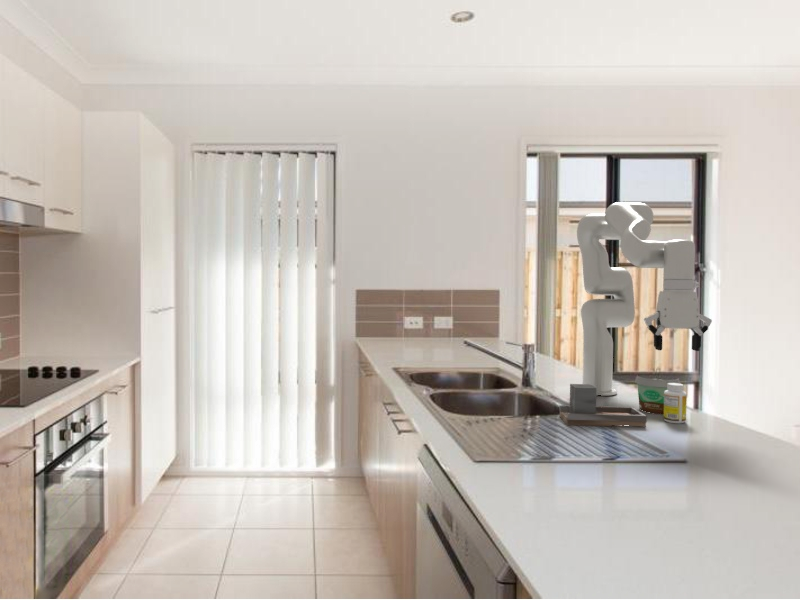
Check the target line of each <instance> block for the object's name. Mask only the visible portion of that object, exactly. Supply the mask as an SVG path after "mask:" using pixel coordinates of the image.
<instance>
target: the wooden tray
mask: <svg viewBox="0 0 800 600" xmlns="http://www.w3.org/2000/svg"><path fill="white" fill-rule="evenodd" d="M558 409H559V417H560V418H561V419H562V420H563V422H564V423H565V424H566V425H567V426H588V427H589V426H590V427H591V426H592V427H596V426H597V427H612V426H611V425H615V426H614V427H618V426H617V425H622V426H621V427H625V426H624V425H629V426H645V427H644V428H646V427H647V421H648V420H647V419H648V418H647V417H648V416H647V414H644V413H643V412H642V411H641V410H640V411H639V410H638V409H637V408H635V407H634V406H612V405H611V406H609V405H607V406H605V405H602V406H601V405H597V395H596V387H594V386H593V385H591V384H583V383H570V384H569V404H568V405H565V404H564V405H563V404H561V405H559V407H558Z"/></svg>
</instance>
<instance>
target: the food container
mask: <svg viewBox="0 0 800 600" xmlns="http://www.w3.org/2000/svg"><path fill="white" fill-rule="evenodd" d="M668 383H679V384H681V381H680V378H676V379H662V378H647V377H642V376H638V375H636V377H635V381H634V384H637V394H638V405H639V410H640V409H641V410H643V411H646V412H645V413H647V412H650V413H649V414H652V413H654V415H664V391H666V390H668V389H667V384H668ZM641 410H640V411H641ZM643 411H642V412H643Z"/></svg>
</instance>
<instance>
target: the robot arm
mask: <svg viewBox="0 0 800 600" xmlns="http://www.w3.org/2000/svg"><path fill="white" fill-rule="evenodd" d="M653 221H654V212H653V210H652V208H651V207H650V206H649V205H648V204H646V203H642V202H626V201H625V202H623V201H621V202H619V201H618V202H614V203H611V204H610V205H609V206H608V207H607V208H606V209H605V212H604V213H590V214H587V215H584V216H582V217H581V218H580V219H579V222H578V223H577V228H576V237H577V238H576V239H577V243H578V246H579V249H580V254H581V259H582V260H581V262H582V275H583V276H582V277H583V287H584V290H585V292H586V293H587V294H589V295H591V296H592V295H593V296H613V299H612V298H592V299H589V300H587V301H585V302H584V303H583V304H582V306H581V309H580V315H581V322H582V330H583V333H582V334H583V337H582V339H583V341H582V342H583V343H582V345H583V348H582V349H583V350H582V351H583V352H582V356H583V357H582V384H591V385H593V386H594V387H596V396H598V395H601V397H602V396H603V397H604V396H605V397H608V396H614V395H615V396H616V395H617V394H618V391H617V390H618V389H615V388H613V371H614V369H613V363H614V358H613V357H614V341H613V337H612V334H611V333H610V332H609V330H608V328H627V327H630V326H631V325H632V324H633V323H634V320H635V318H636V317H635V314H636V310H635V308H636V307H635V305H636V304H635V298H634V297H635V295H634V294H635V293H634V283H633V278H632V275H631V273H630V272H629V270H627V269H626V268H623V267H614V266H613V267H611V266H610V263H609V261H610V260H609V254H608V252H607V251H608V250H607V249H606V248H605V246H604V245H603V244H602V242H601V241H600V240H606V241H607V240H608V241H611V240H613V241H617V240H618V241H620V249H621V254H622V255H623V256H624V258H626V260H628V262H630V264H632V265H633V266H635V267H638V268H641V269H644V268H645V269H663V271H662V272H663V273H662V276H663V277H662V278H663V281H662V282H663V285H662V287H663V288H662V291H661V290H660V291H659V293H658V297H657V302H656V311H655V313H653V314H651V315H649V316H646V317H644V319H643V321H644V323H645V325H646V326H647V329H648V330H649V331H650V332H651V333H652V335H653V346H654V348H655V350H657V351H662V350H663V335H662V333H663V332H664V331H665V330H666V329H671V330H672V329H673V330H674V329H675V330H677V329H679V330H682V329H683V330H685V329H688V330H690V331H691V332H692V333H693V334H692V335H691V350H693V351H696V352H699V351H700V348H701V346H702V336H703V335H704V334H705V333H706V332H707V331H708V330H709V327H710V326H711V324H712V322H713V320H712V319H711V318H709V317H707V316H705V315H704V314H701V313H700V305H699V304H700V303H699V299H698V293H697V291H695V290H696V289H695V288H699V287H700V282H699V281H698V282H697V281H696V280H695V263H696V261H695V259H696V258H695V257H696V256H695V255H696V245H695V242H694V241H692V240H691V239H690V240H689V239H672V240H671V239H670V240H667V241H664V240H663V241H660V240H647V239H648V238H649V236H650V234H651V230H652V229H651V227H652V226H651V225H652V224H653ZM654 320H655V325H656V326H654V324H653V321H654ZM700 321H702V322H703V323H702V325H701V326H700ZM699 326H700V327H699Z"/></svg>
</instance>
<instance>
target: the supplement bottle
mask: <svg viewBox="0 0 800 600" xmlns="http://www.w3.org/2000/svg"><path fill="white" fill-rule="evenodd" d="M667 389H668V390H666V391H664V414H663V420H664V422H667V423H670V424H681V425H682V424H685V423H687V398H688V397H687V396H688V395H687V392H686V391H685V388H684V384H682V383H680V384H679V383H668V384H667Z"/></svg>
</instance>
